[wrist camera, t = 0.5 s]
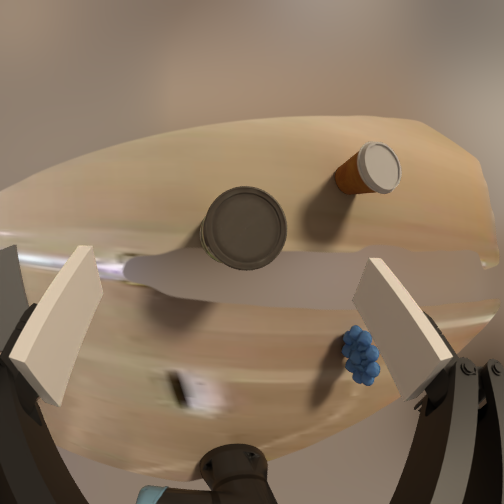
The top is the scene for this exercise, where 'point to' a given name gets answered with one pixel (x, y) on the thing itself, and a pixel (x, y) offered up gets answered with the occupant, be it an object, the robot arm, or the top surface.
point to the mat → (10, 293)
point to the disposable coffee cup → (370, 170)
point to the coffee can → (244, 228)
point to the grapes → (361, 355)
